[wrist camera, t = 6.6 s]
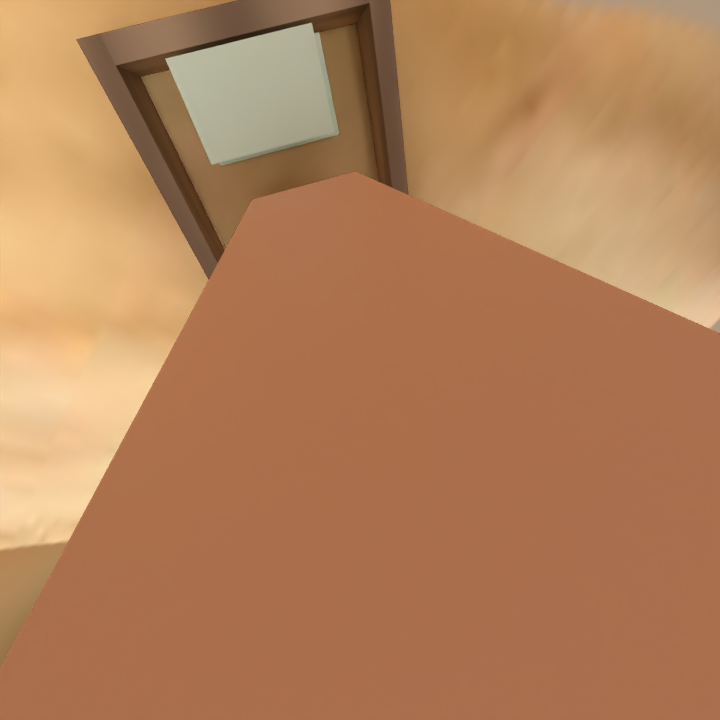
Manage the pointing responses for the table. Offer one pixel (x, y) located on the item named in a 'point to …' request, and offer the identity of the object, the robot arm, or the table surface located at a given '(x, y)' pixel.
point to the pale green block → (257, 94)
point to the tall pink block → (397, 492)
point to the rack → (221, 26)
